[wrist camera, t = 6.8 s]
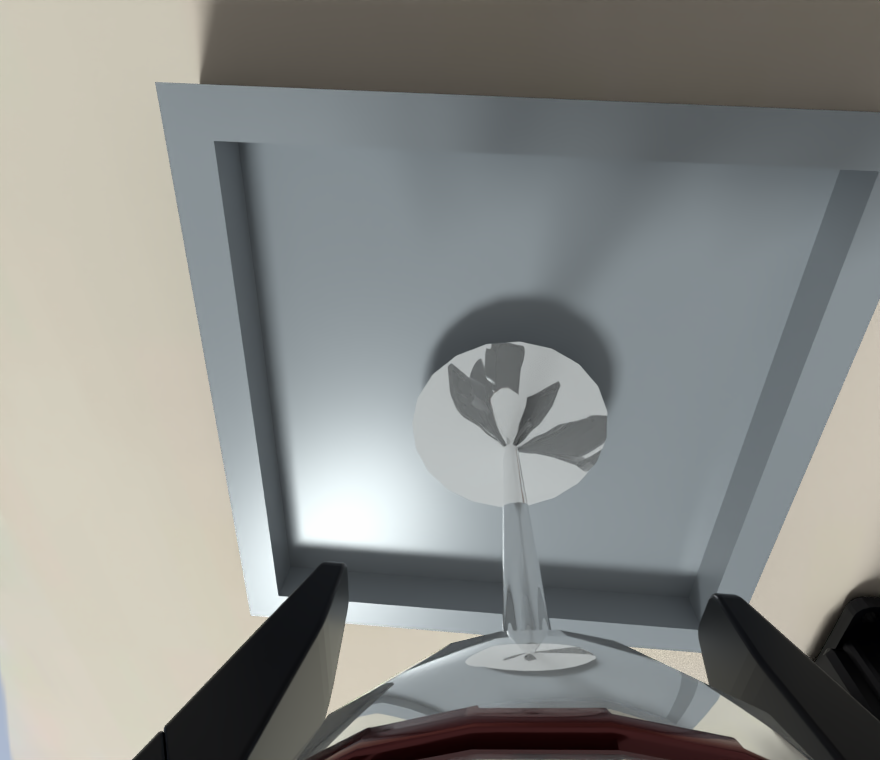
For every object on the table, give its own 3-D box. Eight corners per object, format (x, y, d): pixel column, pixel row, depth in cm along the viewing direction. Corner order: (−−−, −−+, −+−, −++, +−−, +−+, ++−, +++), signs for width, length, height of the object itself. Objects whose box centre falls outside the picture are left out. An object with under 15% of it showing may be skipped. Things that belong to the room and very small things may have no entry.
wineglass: (567, 560, 16) (756, 1527, 5) (346, 485, 15) (16, 1429, 4) (700, 366, 13) (1882, 1763, 2) (430, 261, 12) (20, 1561, 1)
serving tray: (891, 114, 11) (958, 115, 10) (705, 606, 18) (726, 654, 17) (198, 85, 12) (155, 81, 10) (270, 572, 19) (250, 615, 17)
